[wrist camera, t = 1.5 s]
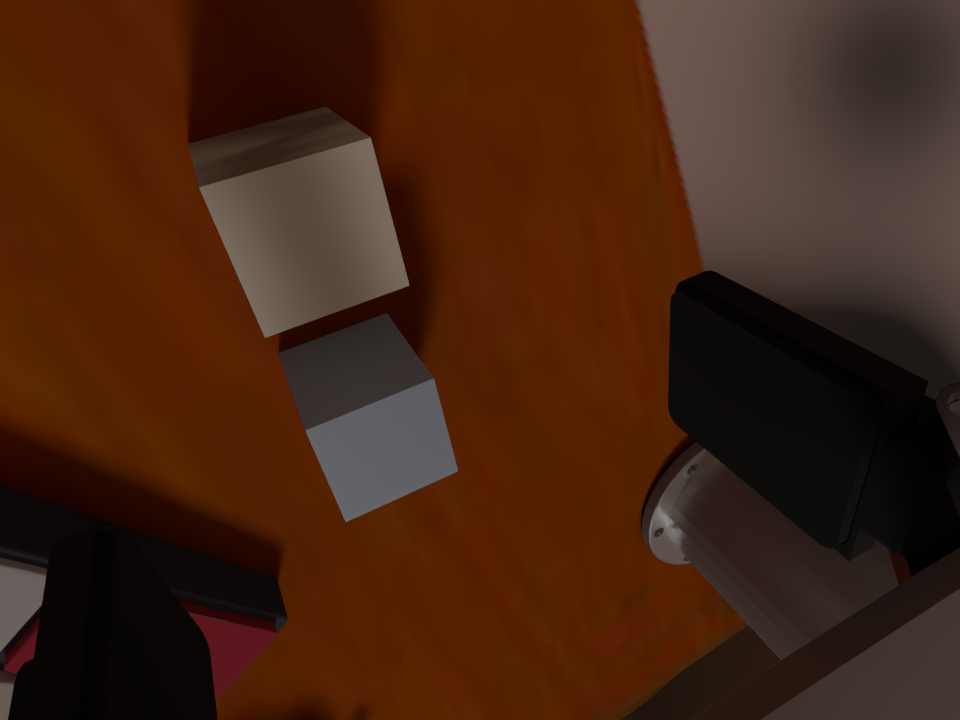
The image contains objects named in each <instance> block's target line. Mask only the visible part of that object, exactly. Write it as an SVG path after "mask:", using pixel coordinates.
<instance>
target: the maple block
mask: <svg viewBox="0 0 960 720" xmlns="http://www.w3.org/2000/svg"><path fill="white" fill-rule="evenodd" d="M188 145H189V149H190V153H191V157H192V161H193V165H194V169H195V173H196V177H197V181H198V185H199V188H200V191H201V193H202V195H203V197H204V200H205V202H206V204H207V207H208V209H209V211H210V213H211V216H212V218H213V220H214V223H215V225H216V227H217V229H218V232H219V234H220V236H221V239H222V241H223V243H224V245H225V248H226V250H227V252H228V254H229V257H230V259H231V261H232V264H233V266H234V268H235V270H236V273H237V275H238V277H239V280H240V282H241V284H242V286H243V289H244V291H245V293H246V296H247V298H248V300H249V302H250V305H251V307H252V309H253V311H254V314H255V316H256V318H257V321H258V323H259V325H260V327H261V330H262V332H263V334H264V337H265V338H266V337H269V336H272V335H274V334H277V333H280V332H283V331H285V330H288V329H291V328H294V327H297V326H299V325H302V324H305V323H308V322H310V321H313V320H316V319H319V318H321V317H324V316H327V315H330V314H332V313H335V312H338V311H341V310H343V309H346V308H349V307H352V306H355V305H357V304H360V303H363V302H366V301H368V300H371V299H374V298H377V297H379V296H382V295H385V294H388V293H390V292H393V291H396V290H399V289H401V288H404V287H407V286H410V285H409V281H408V278H407V274H406V270H405V266H404V262H403V259H402V255H401V251H400V247H399V243H398V239H397V236H396V232H395V228H394V224H393V220H392V217H391V213H390V209H389V205H388V201H387V198H386V194H385V190H384V186H383V182H382V178H381V175H380V171H379V167H378V163H377V159H376V156H375V152H374V148H373V144H372V140H371V137H369V136H368V135H366V134H365V133H364V132H362V131H361V130H359V129H358V128H356V127H355V126H353V125H352V124H351V123H349V122H348V121H346V120H345V119H343V118H342V117H340V116H339V115H338V114H336V113H335V112H333V111H332V110H330V109H329V108H327V107H326V106H325V107H322V108H318V109H314V110H311V111H307V112H303V113H300V114H296V115H292V116H289V117H285V118H281V119H278V120H274V121H270V122H266V123H263V124H259V125H255V126H252V127H248V128H244V129H241V130H237V131H233V132H230V133H226V134H222V135H219V136H215V137H211V138H208V139H204V140H200V141H197V142H193V143H189V144H188Z"/></svg>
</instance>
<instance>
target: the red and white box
mask: <svg viewBox="0 0 960 720" xmlns="http://www.w3.org/2000/svg"><path fill="white" fill-rule="evenodd" d="M96 524H102V525H104V526H106V527H107V528H108V529H109V530H112V529H114V528H116V527H114V526H110V525H107V524H104V523H100V522H97V521H94V520H91V519H87V518H85V517H84V516H83V515H81V514H80V513H79V512H77V511H75V510H72V509H69V508H66V507H63V506H60V505H57V504H54V503H51V502H49V501H46V500H43V499H40V498H37V497H34V496H31V495H28V494H25V493H22V492H19V491H16V490H13V489H10V488H7V487H4V486H1V485H0V720H8V716H9V710H10V704H11V699H12V693H13V687H14V683H15V679H16V676H17V673H18V671H19V669H20V668H21V666H22V665H23V664H24V663H25V662H27V661H29V660H31V659H34V652H35V646H36V639H37V633H38V626H39V620H40V613H41V606H42V600H43V593H44V587H45V580H46V574H47V567H48V561H49V554H50V549H51V546H52V544H53V543H54V542H55V541H58V540H60V539H63V538H65V537H67V536H70V535H72V534H75V533H77V532H79V531H82V530H84V529H87V528H89V527H91V526H94V525H96ZM125 531H126V532H127V533H128V535H129V536H130V537H131V539H132V540H133V541H134V543H135V544H136V545H137V547H138V548H139V549H140V550H141V552H142V553H143V554H144V556H145V557H146V558H147V560H148V561H149V562H150V563H151V565H152V566H153V567H154V569H155V570H156V571H157V573H158V574H159V575H160V577H161V578H162V579H163V580H164V582H165V583H166V584H167V586H168V587H169V588H170V590H171V591H172V592H173V593H174V595H175V596H176V597H177V599H178V600H179V601H180V603H181V604H182V605H183V607H184V608H185V609H186V610H187V612H188V613H189V614H190V616H191V617H192V618H193V620H194V621H195V622H196V623H197V625H198V626H199V627H200V629H201V630H202V632H203V633H204V635H205V637H206V640H207V643H208V646H209V649H210V655H211V664H212V673H213V683H214V692H215V699H216V698H217V697H219V696H221V695H222V694H223V693H224V692H225V691H226V690H227V689H228V688H229V687H230V686H231V685H232V683H233V682H234V681H235V680H236V679H237V678H238V677H239V676H240V675H241V674H242V673H243V672H244V671H245V669H246V668H247V667H248V666H249V665H250V664H251V663H252V662H253V661H254V660H255V659H256V658H257V657H258V656H259V654H260V653H261V652H262V651H263V650H264V649H265V648H266V647H267V646H268V645H269V644H270V643H271V642H272V640H273V639H274V638H275V637H276V635H277V633H278V632H279V631H280V630H281V629H282V627H283V626H284V625H285V624H286V622H287V619H288V618H287V614H286V610H285V606H284V603H283V599H282V595H281V592H280V588H279V584H278V581H277V580H276V579H275V578H272V577H269V576H266V575H263V574H261V573H258V572H255V571H252V570H249V569H246V568H243V567H240V566H237V565H234V564H231V563H228V562H225V561H222V560H219V559H216V558H213V557H210V556H207V555H204V554H201V553H198V552H195V551H192V550H189V549H186V548H183V547H180V546H177V545H173V544H170V543H167V542H163V541H160V540H157V539H154V538H150V537H147V536H144V535H140V534H137V533H134V532H130V531H127V530H125Z"/></svg>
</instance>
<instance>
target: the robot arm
mask: <svg viewBox="0 0 960 720" xmlns="http://www.w3.org/2000/svg"><path fill="white" fill-rule="evenodd" d="M927 384H928V381H927V380H925V379H923V378H921V377H919V376H917V375H915V374H913V373H911V372H909V371H907V370H905V369H903V368H901V367H899V366H897V365H895V364H894V363H892V362H890V361H888V360H886V359H884V358H882V357H880V356H878V355H876V354H874V353H872V352H870V351H868V350H866V349H864V348H862V347H860V346H858V345H857V344H854V343H853V342H851V341H848V340H847V339H845V338H843V337H841V336H839V335H837V334H835V333H833V332H831V331H829V330H827V329H825V328H823V327H821V326H820V325H817V324H816V323H814V322H812V321H810V320H808V319H806V318H804V317H802V316H800V315H798V314H796V313H794V312H792V311H790V310H788V309H787V308H785V307H783V306H781V305H779V304H777V303H775V302H773V301H771V300H769V299H767V298H765V297H763V296H761V295H759V294H757V293H755V292H753V291H751V290H750V289H748V288H746V287H744V286H742V285H740V284H738V283H736V282H734V281H732V280H730V279H728V278H726V277H724V276H722V275H720V274H718V273H716V272H714V271H705V272H703V273H700V274H698V275H695V276H693V277H691V278H688V279H686V280H683V281H681V282H680V283H679V284H678V285H677V287H676V291H675V293H674V294H673V295H672V297H671V301H670V345H669V394H668V409H669V413H670V416H671V418H672V420H673V421H674V422H675V424H676V425H677V426H678V427H679V428H681V429H682V430H683V431H684V432H685V433H687V434H688V435H689V436H690V437H691V438H693V439H694V440H695V441H696V442H695V443H693V444H692V445H691V446H690V447H689V448H687V449H686V450H685V451H684V452H683V453H682V454H681V455H680V456H679V457H678V458H677V459H676V460H675V461H674V462H673V463H672V464H671V465H670V466H669V467H668V469H667V470H666V471H665V473H664V474H663V475H662V477H661V478H660V479H659V481H658V483H657V484H656V486H655V488H654V489H653V491H652V493H651V495H650V497H649V500H648V502H647V504H646V507H645V511H644V515H643V519H642V534H643V538H644V541H645V543H646V545H647V546H648V548H649V549H650V550H651V551H652V552H653V553H654V554H655V555H656V557H657V558H658V559H660V560H662V561H664V562H666V563H671V564H688V563H691V564H692V565H693V566H694V567H695V568H696V569H697V570H698V571H699V572H700V573H701V574H702V575H703V576H704V577H705V578H706V580H707V581H708V582H709V583H710V584H711V585H712V586H713V587H714V588H715V589H716V590H717V591H718V592H719V593H720V595H721V596H722V597H723V598H724V599H725V600H726V601H727V602H728V603H729V604H730V605H731V606H732V607H733V608H734V609H735V611H736V612H737V613H738V614H739V615H740V616H741V617H742V618H743V619H744V620H745V621H746V622H747V623H748V624H749V625H750V627H751V628H752V629H753V630H754V631H755V632H756V633H757V634H758V635H759V636H760V637H761V638H762V639H763V640H764V641H765V642H766V644H767V645H768V646H769V647H770V648H771V649H772V650H773V651H774V652H775V653H776V654H777V655H778V656H779V657H780V659H781V661H779V662H778V663H776V664H775V665H773V666H772V667H770V668H769V669H767V670H765V671H764V672H762V673H761V674H759V675H758V676H756V677H754V678H753V679H751V680H750V681H748V682H747V683H745V684H744V685H742V686H741V687H739V688H737V689H736V690H734V691H733V692H731V693H730V694H728V695H727V696H725V697H723V698H722V699H720V700H719V701H717V702H716V703H714V704H713V705H711V706H710V707H708V708H707V709H705V710H703V711H702V712H700V713H699V714H697V715H696V716H694V717H693V718H691V719H689V720H960V381H956V382H953V383H949V384H947V385H946V386H945V387H943V388H941V389H940V390H939V392H938V394H937V396H936V398H935V400H933V399H931V398H929V397H927V396H926V395H924V393H925V390H926V387H927ZM8 720H217V711H216V701H215V692H214V683H213V673H212V664H211V655H210V649H209V646H208V643H207V640H206V637H205V635H204V633H203V632H202V630H201V629H200V627H199V626H198V625H197V623H196V622H195V621H194V620H193V618H192V617H191V616H190V614H189V613H188V612H187V610H186V609H185V608H184V607H183V605H182V604H181V603H180V601H179V600H178V599H177V597H176V596H175V595H174V593H173V592H172V591H171V590H170V588H169V587H168V586H167V584H166V583H165V582H164V580H163V579H162V578H161V577H160V575H159V574H158V573H157V571H156V570H155V569H154V567H153V566H152V565H151V563H150V562H149V561H148V560H147V558H146V557H145V556H144V554H143V553H142V552H141V550H140V549H139V548H138V547H137V545H136V544H135V543H134V541H133V540H132V539H131V537H130V536H129V535H128V533H127V532H126V531H125V530H124V529H123V528H121V527H116V528H114V529H112V530H109V529H108V528H107V527H106V526H104V525H102V524H96V525H94V526H91V527H89V528H87V529H84V530H82V531H79V532H77V533H75V534H72V535H70V536H67V537H65V538H63V539H60V540H58V541H55V542H54V543H53V544H52V546H51V549H50V554H49V561H48V567H47V574H46V580H45V587H44V593H43V600H42V606H41V613H40V620H39V626H38V633H37V639H36V646H35V652H34V659H31V660H29V661H27V662H25V663H24V664H23V665H22V666H21V668H20V669H19V671H18V673H17V676H16V679H15V683H14V687H13V693H12V699H11V704H10V710H9V716H8Z"/></svg>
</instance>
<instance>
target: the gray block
mask: <svg viewBox="0 0 960 720" xmlns="http://www.w3.org/2000/svg"><path fill="white" fill-rule="evenodd" d="M279 356H280V359H281V362H282V365H283V368H284V371H285V373H286V376H287V379H288V382H289V385H290V388H291V391H292V393H293V396H294V399H295V402H296V405H297V408H298V411H299V413H300V416H301V419H302V422H303V425H304V428H305V431H306V433H307V435H308V437H309V440H310V442H311V444H312V447H313V449H314V451H315V453H316V456H317V458H318V460H319V462H320V465H321V467H322V469H323V472H324V474H325V476H326V478H327V481H328V483H329V485H330V487H331V490H332V492H333V494H334V497H335V499H336V501H337V503H338V506H339V508H340V510H341V512H342V515H343V517H344V519H345V522H347V521H349V520H352V519H354V518H356V517H358V516H360V515H363V514H365V513H367V512H369V511H371V510H374V509H376V508H378V507H380V506H383V505H385V504H387V503H389V502H391V501H394V500H396V499H398V498H400V497H402V496H405V495H407V494H409V493H411V492H413V491H416V490H418V489H420V488H422V487H424V486H427V485H429V484H431V483H433V482H435V481H438V480H440V479H442V478H444V477H446V476H449V475H451V474H453V473H455V472H457V471H458V469H457V465H456V461H455V457H454V454H453V450H452V446H451V442H450V438H449V435H448V431H447V427H446V423H445V419H444V416H443V412H442V408H441V404H440V400H439V397H438V393H437V389H436V385H435V381H434V378H433V377H432V375H431V374H430V372H429V371H428V370H427V368H426V367H425V366H424V364H423V363H422V361H421V360H420V359H419V357H418V356H417V354H416V353H415V352H414V350H413V349H412V347H411V346H410V345H409V343H408V342H407V340H406V339H405V338H404V336H403V335H402V334H401V332H400V331H399V329H398V328H397V327H396V325H395V324H394V322H393V321H392V320H391V318H390V317H389V315H388V314H387V313H385V314H383V315H380V316H377V317H374V318H372V319H369V320H366V321H364V322H361V323H358V324H356V325H353V326H350V327H347V328H345V329H342V330H339V331H337V332H334V333H331V334H329V335H326V336H323V337H320V338H318V339H315V340H312V341H310V342H307V343H304V344H302V345H299V346H296V347H294V348H291V349H288V350H285V351H283V352H280V353H279Z"/></svg>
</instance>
